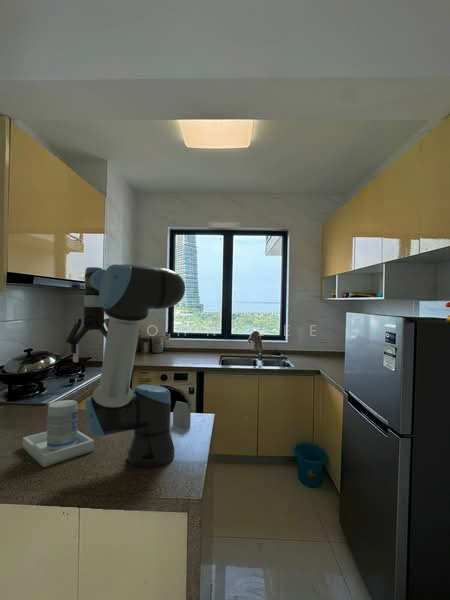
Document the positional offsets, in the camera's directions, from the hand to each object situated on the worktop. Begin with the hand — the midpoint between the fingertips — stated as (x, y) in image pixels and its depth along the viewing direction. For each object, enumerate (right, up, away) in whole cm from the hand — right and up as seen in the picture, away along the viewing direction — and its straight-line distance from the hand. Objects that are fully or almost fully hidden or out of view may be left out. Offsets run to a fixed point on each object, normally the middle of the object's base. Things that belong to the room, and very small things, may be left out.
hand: (92, 359), depth 125 cm
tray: (-5, -28, -16) cm, 33 cm away
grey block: (+34, -30, +8) cm, 46 cm away
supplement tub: (-5, -28, -15) cm, 32 cm away
